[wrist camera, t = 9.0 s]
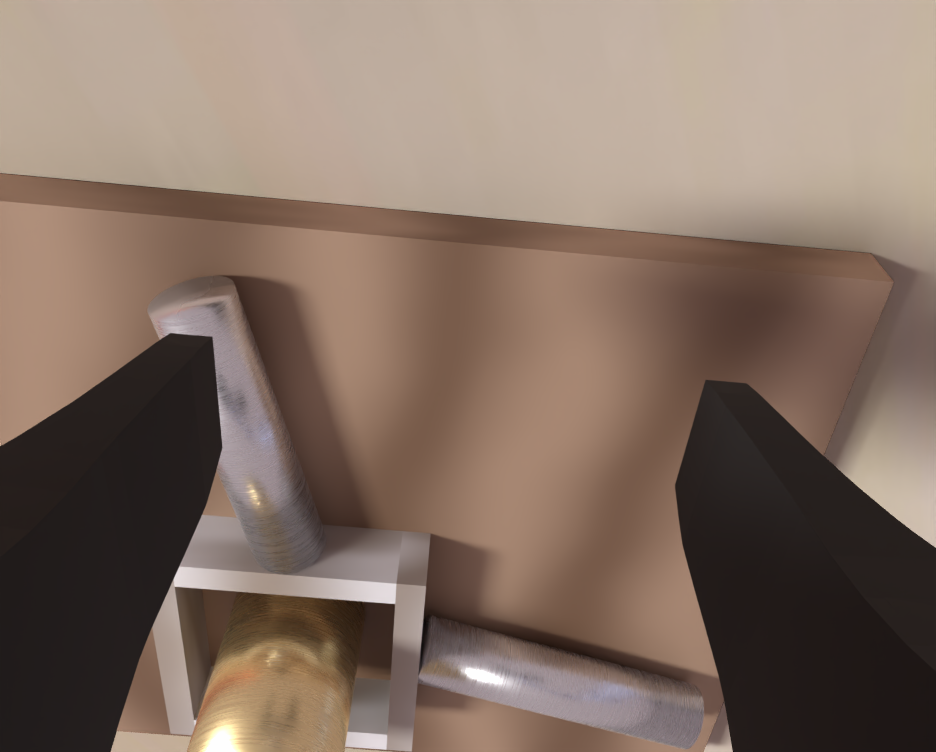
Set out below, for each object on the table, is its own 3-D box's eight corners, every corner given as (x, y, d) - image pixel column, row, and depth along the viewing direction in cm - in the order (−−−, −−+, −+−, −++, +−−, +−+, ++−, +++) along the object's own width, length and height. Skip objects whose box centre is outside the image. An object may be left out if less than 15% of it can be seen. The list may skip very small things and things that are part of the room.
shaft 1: (163, 283, 21) (134, 326, 19) (244, 270, 21) (221, 313, 19) (264, 526, 25) (248, 578, 24) (331, 518, 25) (320, 571, 23)
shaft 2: (696, 671, 28) (709, 726, 27) (668, 707, 29) (678, 762, 28) (433, 601, 27) (429, 655, 25) (413, 641, 28) (407, 695, 26)
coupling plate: (871, 253, 22) (929, 326, 19) (686, 736, 33) (705, 828, 30) (-33, 170, 21) (-118, 232, 18) (93, 691, 32) (53, 781, 29)
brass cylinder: (371, 571, 26) (342, 757, 21) (359, 657, 28) (331, 842, 23) (236, 554, 26) (175, 738, 21) (235, 642, 28) (180, 827, 23)
